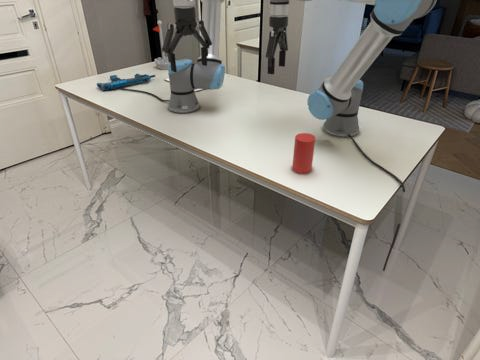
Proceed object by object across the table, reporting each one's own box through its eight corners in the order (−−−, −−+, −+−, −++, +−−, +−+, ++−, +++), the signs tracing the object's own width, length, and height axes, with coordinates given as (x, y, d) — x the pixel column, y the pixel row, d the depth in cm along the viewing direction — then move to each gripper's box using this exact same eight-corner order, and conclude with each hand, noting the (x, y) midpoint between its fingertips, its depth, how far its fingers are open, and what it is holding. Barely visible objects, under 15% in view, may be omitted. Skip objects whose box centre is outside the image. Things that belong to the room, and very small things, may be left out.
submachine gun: (141, 68, 225) (159, 74, 208) (142, 74, 227) (160, 80, 210) (89, 78, 206) (104, 86, 190) (91, 84, 208) (106, 92, 192)
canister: (306, 163, 126) (310, 132, 119) (314, 172, 121) (318, 140, 114) (289, 165, 125) (292, 134, 118) (296, 174, 119) (299, 142, 112)
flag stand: (172, 63, 245) (167, 18, 229) (176, 68, 235) (171, 21, 219) (154, 65, 241) (147, 19, 225) (157, 70, 231) (150, 22, 215)
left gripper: (156, 11, 110) (165, 76, 122) (219, 4, 123) (221, 64, 134) (146, 8, 115) (155, 71, 127) (208, 3, 128) (211, 60, 139)
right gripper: (280, 12, 146) (278, 62, 158) (258, 19, 127) (257, 76, 139) (297, 12, 143) (293, 64, 155) (276, 20, 124) (274, 78, 136)
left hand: (189, 68), depth 131 cm, fingers open, 13 cm apart
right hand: (276, 70), depth 147 cm, fingers open, 13 cm apart
